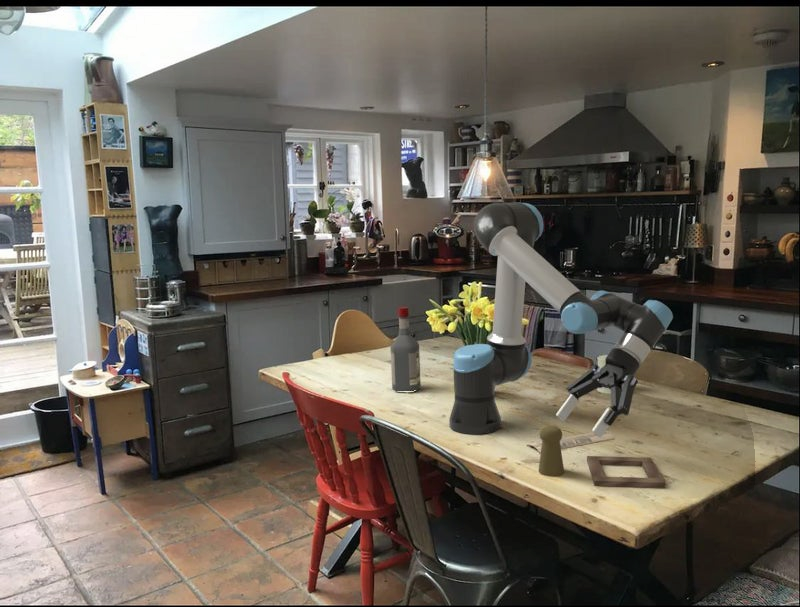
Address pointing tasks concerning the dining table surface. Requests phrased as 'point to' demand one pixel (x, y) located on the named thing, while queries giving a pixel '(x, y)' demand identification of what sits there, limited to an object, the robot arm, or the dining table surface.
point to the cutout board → (600, 480)
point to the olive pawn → (551, 452)
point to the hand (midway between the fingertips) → (577, 426)
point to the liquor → (405, 357)
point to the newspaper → (577, 440)
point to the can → (601, 364)
